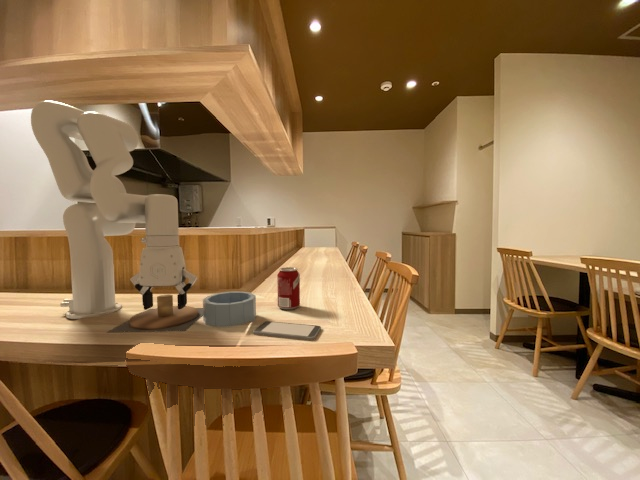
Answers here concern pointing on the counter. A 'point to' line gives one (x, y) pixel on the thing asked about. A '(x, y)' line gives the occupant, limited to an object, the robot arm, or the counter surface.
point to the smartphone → (288, 330)
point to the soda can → (288, 288)
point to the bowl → (229, 309)
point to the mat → (183, 327)
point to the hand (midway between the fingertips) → (165, 307)
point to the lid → (163, 315)
